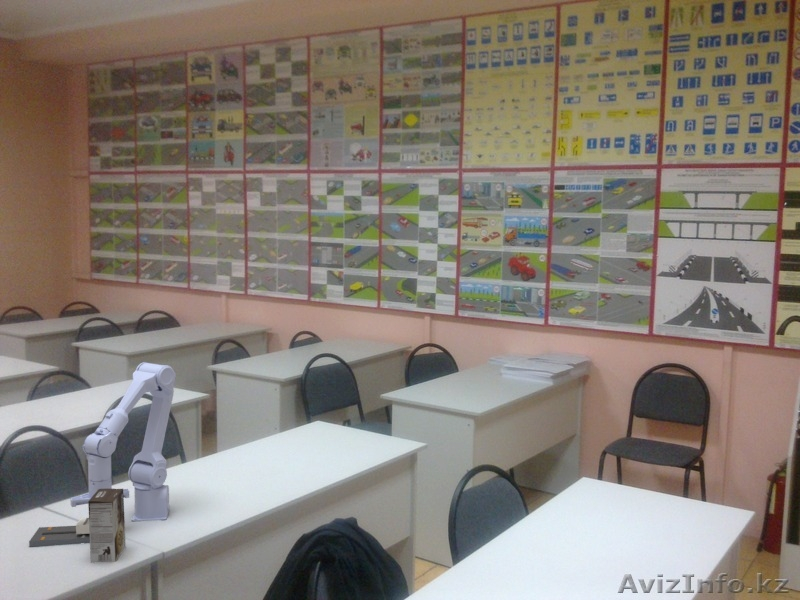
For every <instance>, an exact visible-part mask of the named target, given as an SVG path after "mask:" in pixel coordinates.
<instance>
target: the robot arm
mask: <svg viewBox="0 0 800 600" xmlns="http://www.w3.org/2000/svg"><path fill="white" fill-rule="evenodd" d="M176 376H177V374H176V372H175V371H174V369H173V367H172V366H170V365H168V364H166V365H165V364H164V365H163V364H157V363H150V362H147V361H143V362H141V363H139V364H138V365H137V366H136V369H135V371H134V372H133V373H132V381H131V383H130V384H129V386H128V388H127V390H126V392H125V393H124V395H123V396H122V398H121V400H120V402H119V404H118V406H117V407H116V408H113V409H110V410H109V411H108V412H106V414H105V417H104V418H103V419H102V421H101V422H100V424H99V426H98V427H97V428H96V429H95V431H94V432H93V433H91V434H89V435H87V437H86V438H85V439H84V443H83V444H82V451H83V452H84V453H85V455H86V460H87V470H88V471H87V473H88V474H87V475H88V478H87V479H88V493H83V494H82V495H78V496H74V497H73V496H72V497H70V506H71V507H72V508H76V507H77V506H83V505H88V501H89V500H90V499H91V498H92V496H93V495H94V494H95V493H96V492H97V491H98V489H113V488H112V482H113V481H112V454H113V453H114V452H115V451H116V448H117V442H118V439H119V436H120V435H121V433H122V432H123V430H124V429H125V427H126V426H127V424H128V423H129V414H130V412H131V411H132V410H133V409H134V407H135V406H136V405H137V403H138V402H139V401H140V400H141V398H142V397H143V396H144V395H145V394H146V393H150V395H151V396H152V400H151V406H150V409H149V413H148V420H147V424H146V429H145V434H144V437H143V438H144V439H143V443H142V446H141V451H140V452H138V453H136V454H135V455H134V456H133V460H132V463H131V465H130V466H129V468H128V473H127V475H128V476H127V477H128V480H129V481H130V482H132V486H133V488H134V490H133V491H134V513H133V515H132V518H131V522H144V521H145V522H146V521H149V522H150V521H166V520H167V519H168V515H169V513H170V507H171V506H170V487H169V485H167V484H164V483H165V482H166V480H167V477H168V473H167V464H168V461H167V460H166V458H165V457H164V456H163V453H162V452H163V451H162V450H163V447H164V441H165V436H166V432H167V428H168V422H169V418H170V413H171V407H172V403H173V397H174V392H175V389H174V386H175V382H176ZM122 489H123V496H124V499H129V498H130V490H129V488H122Z"/></svg>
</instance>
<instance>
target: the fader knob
mask: <svg viewBox="0 0 800 600" xmlns="http://www.w3.org/2000/svg"><path fill="white" fill-rule="evenodd" d="M75 526H76V534H90V531H89V517H80V518H79V520H78V521H77V523H76V525H75Z"/></svg>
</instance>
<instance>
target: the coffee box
mask: <svg viewBox="0 0 800 600" xmlns="http://www.w3.org/2000/svg"><path fill="white" fill-rule="evenodd" d="M123 489H124V488H112V489H98V491H97V492H96V493H95V494H94V495H93V496H92V498H91V499H90V500H89V501H88V504H87V505H88V518H89V531H90V543H89V551H90V553H89V554H90V564H92V563H93V564H95V562H96V563H115V562H117V561H118V560H119V558H120V557H121V555H122V553H123V552H124V551H125V549H126V528H125V527H126V525H125V522H126V521H125V520H126V519H125V501H124V499H125V498H124V496H123Z"/></svg>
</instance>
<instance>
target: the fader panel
mask: <svg viewBox="0 0 800 600" xmlns="http://www.w3.org/2000/svg"><path fill="white" fill-rule="evenodd" d="M28 543H29V547H30V548H32V547H34V548H35V547H50V546H67V545H68V546H69V545H79V544H81V543H84V544H90V534H76V525H63V526H62V525H60V526H40V527H38V529H37V530H36V531H35V532H34V534H33V535H32V537H31V538H30V540H29V541H28Z"/></svg>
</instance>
